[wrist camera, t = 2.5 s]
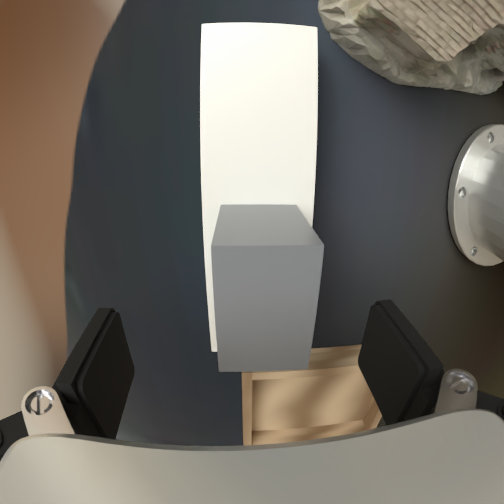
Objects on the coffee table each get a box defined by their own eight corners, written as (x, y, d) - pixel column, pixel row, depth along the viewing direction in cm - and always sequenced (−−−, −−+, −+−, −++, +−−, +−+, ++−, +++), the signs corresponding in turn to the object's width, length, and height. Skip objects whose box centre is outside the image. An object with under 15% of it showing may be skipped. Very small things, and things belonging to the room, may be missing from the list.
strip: (304, 43, 16) (318, 25, 12) (292, 320, 23) (300, 353, 20) (208, 41, 16) (200, 21, 12) (214, 322, 23) (211, 355, 20)
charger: (288, 194, 19) (324, 245, 11) (284, 281, 21) (307, 368, 13) (223, 194, 18) (210, 245, 11) (225, 282, 21) (218, 371, 13)
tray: (396, 340, 25) (407, 358, 23) (365, 418, 30) (372, 435, 27) (241, 351, 24) (241, 373, 22) (243, 430, 29) (243, 449, 27)
